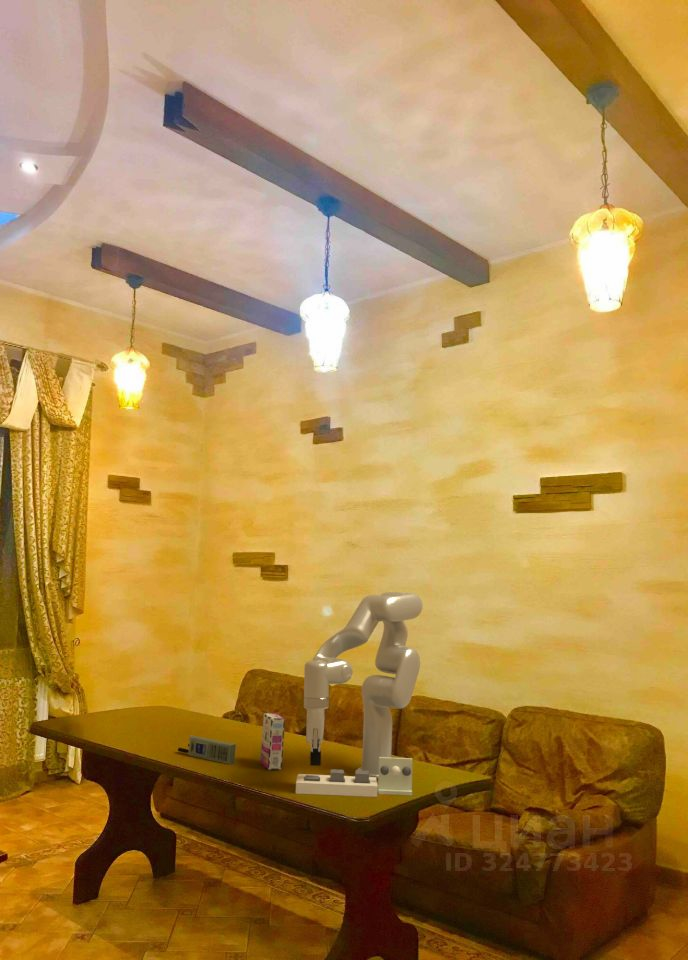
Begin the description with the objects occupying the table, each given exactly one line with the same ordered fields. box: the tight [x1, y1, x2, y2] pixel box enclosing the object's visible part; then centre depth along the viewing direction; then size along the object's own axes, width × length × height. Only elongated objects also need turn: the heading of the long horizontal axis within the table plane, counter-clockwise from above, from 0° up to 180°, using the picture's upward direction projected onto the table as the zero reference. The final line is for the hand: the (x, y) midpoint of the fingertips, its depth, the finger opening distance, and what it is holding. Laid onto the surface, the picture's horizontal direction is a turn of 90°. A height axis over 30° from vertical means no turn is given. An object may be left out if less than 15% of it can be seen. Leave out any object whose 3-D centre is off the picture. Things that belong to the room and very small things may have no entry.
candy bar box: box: [259, 712, 286, 771], centre depth 242 cm, size 11×5×16 cm, turn 21°
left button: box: [305, 774, 319, 781], centre depth 215 cm, size 4×4×3 cm
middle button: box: [330, 768, 345, 782], centre depth 215 cm, size 4×4×3 cm
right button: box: [354, 769, 369, 783], centre depth 215 cm, size 4×4×3 cm
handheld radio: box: [177, 735, 237, 765], centre depth 249 cm, size 7×3×25 cm
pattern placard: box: [377, 756, 413, 796], centre depth 216 cm, size 10×4×10 cm, turn 90°
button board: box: [295, 773, 378, 798], centre depth 215 cm, size 24×10×3 cm, turn 90°
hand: (315, 764), depth 217 cm, fingers closed
